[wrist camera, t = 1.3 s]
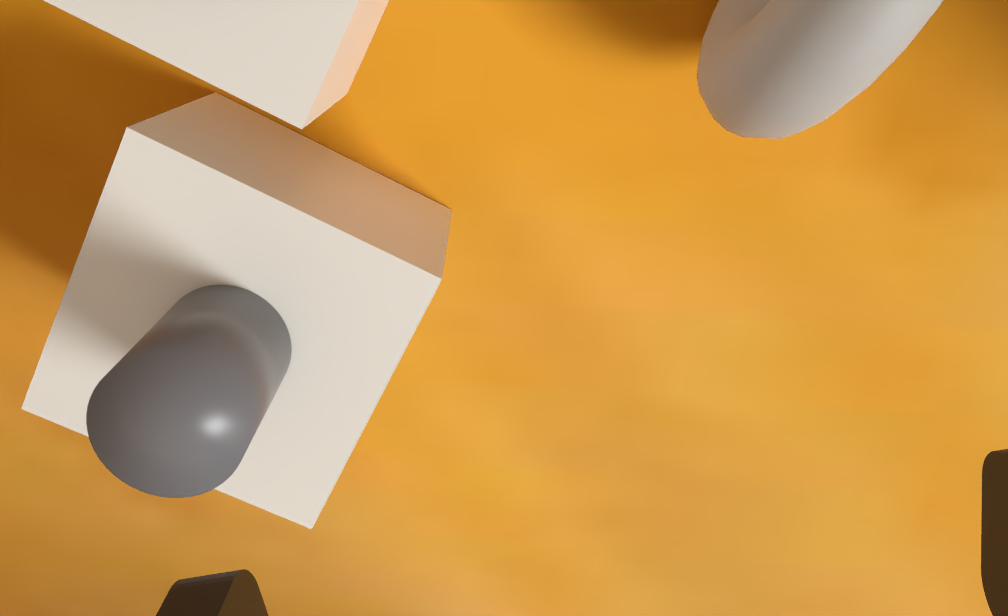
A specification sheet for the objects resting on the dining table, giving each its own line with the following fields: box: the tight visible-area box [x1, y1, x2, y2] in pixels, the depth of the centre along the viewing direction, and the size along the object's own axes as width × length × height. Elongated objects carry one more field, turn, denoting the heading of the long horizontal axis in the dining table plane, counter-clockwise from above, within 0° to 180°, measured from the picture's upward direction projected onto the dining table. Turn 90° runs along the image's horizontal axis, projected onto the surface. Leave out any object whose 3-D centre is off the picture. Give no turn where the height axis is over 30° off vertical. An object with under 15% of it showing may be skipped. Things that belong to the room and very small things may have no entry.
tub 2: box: [21, 92, 452, 529], centre depth 26 cm, size 9×9×13 cm
